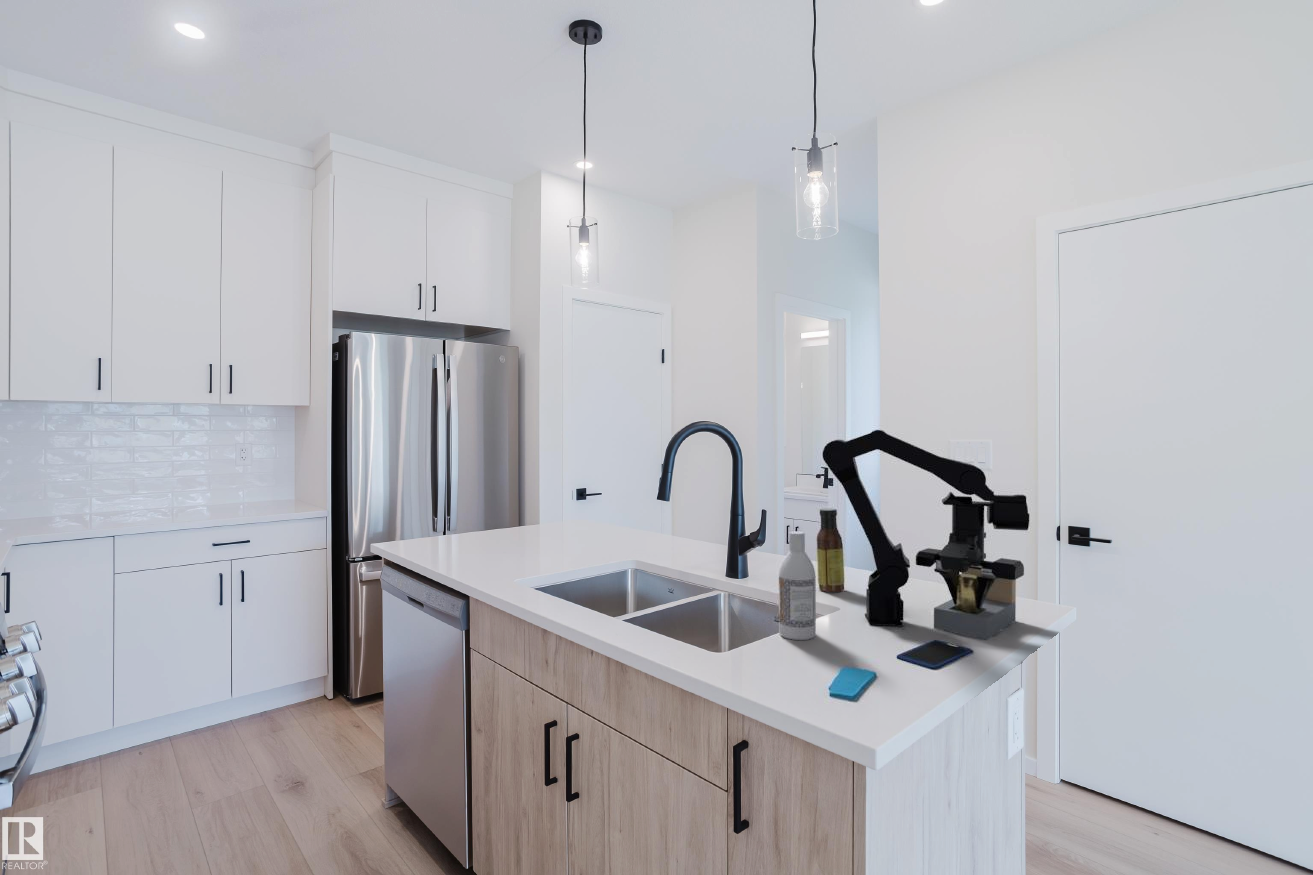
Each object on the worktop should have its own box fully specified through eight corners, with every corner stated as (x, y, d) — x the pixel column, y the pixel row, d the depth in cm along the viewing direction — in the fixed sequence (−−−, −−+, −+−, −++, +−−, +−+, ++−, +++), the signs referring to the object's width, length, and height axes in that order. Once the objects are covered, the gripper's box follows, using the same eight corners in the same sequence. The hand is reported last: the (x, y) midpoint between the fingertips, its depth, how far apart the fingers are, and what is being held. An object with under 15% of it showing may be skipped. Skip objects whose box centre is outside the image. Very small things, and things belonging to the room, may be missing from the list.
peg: (959, 619, 127) (960, 578, 127) (953, 613, 131) (953, 573, 131) (981, 620, 127) (981, 579, 126) (974, 613, 130) (975, 574, 130)
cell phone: (975, 653, 117) (975, 649, 117) (934, 672, 108) (934, 668, 108) (935, 642, 122) (935, 638, 122) (894, 659, 114) (894, 655, 114)
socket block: (989, 640, 122) (990, 584, 122) (931, 627, 130) (931, 575, 130) (1018, 621, 133) (1018, 570, 133) (962, 610, 141) (962, 562, 141)
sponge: (815, 690, 100) (853, 693, 96) (841, 665, 109) (876, 668, 106) (816, 700, 99) (854, 704, 96) (843, 674, 109) (878, 677, 106)
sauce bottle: (847, 589, 160) (847, 508, 159) (839, 594, 155) (839, 511, 154) (822, 585, 164) (821, 506, 163) (813, 590, 158) (812, 509, 158)
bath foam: (783, 627, 131) (783, 528, 130) (818, 631, 128) (818, 530, 127) (775, 638, 124) (774, 534, 124) (811, 643, 122) (811, 536, 121)
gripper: (903, 527, 129) (903, 605, 130) (1005, 539, 116) (1004, 626, 116) (927, 521, 137) (927, 594, 138) (1025, 531, 124) (1024, 612, 124)
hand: (967, 606), depth 129 cm, fingers closed on peg, 4 cm apart
